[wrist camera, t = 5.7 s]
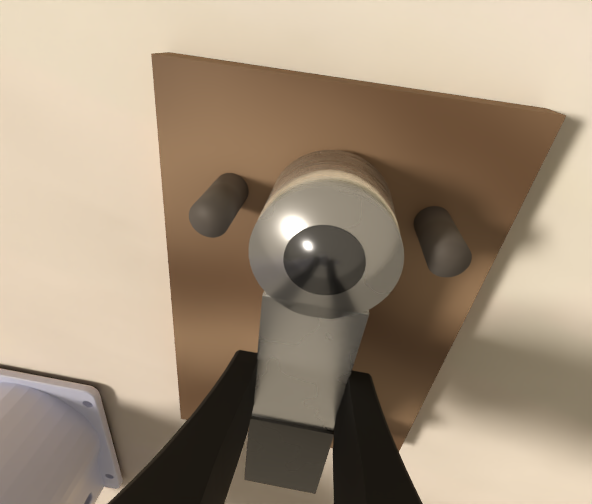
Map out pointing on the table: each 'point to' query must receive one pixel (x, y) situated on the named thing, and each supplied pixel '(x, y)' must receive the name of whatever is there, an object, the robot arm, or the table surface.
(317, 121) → the tool board
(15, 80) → the table surface
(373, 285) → the lever door handle
